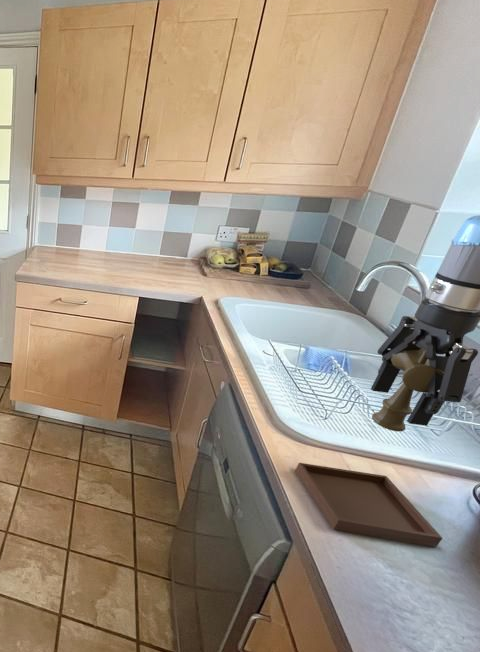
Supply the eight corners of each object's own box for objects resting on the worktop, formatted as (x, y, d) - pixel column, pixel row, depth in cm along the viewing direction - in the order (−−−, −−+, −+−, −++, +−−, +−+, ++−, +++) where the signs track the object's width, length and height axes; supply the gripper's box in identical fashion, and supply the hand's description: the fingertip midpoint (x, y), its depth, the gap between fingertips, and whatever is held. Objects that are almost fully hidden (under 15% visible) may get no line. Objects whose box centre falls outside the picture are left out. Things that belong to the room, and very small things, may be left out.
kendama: (401, 417, 86) (449, 333, 78) (412, 444, 79) (466, 355, 71) (363, 406, 90) (405, 325, 81) (371, 432, 82) (418, 345, 74)
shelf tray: (381, 484, 86) (386, 475, 85) (436, 547, 74) (443, 538, 73) (294, 471, 89) (298, 462, 88) (333, 529, 77) (338, 520, 76)
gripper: (385, 280, 84) (342, 372, 93) (484, 331, 64) (417, 442, 73) (428, 284, 82) (380, 377, 92) (544, 336, 63) (468, 449, 72)
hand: (396, 406), depth 82 cm, fingers closed on kendama, 10 cm apart
